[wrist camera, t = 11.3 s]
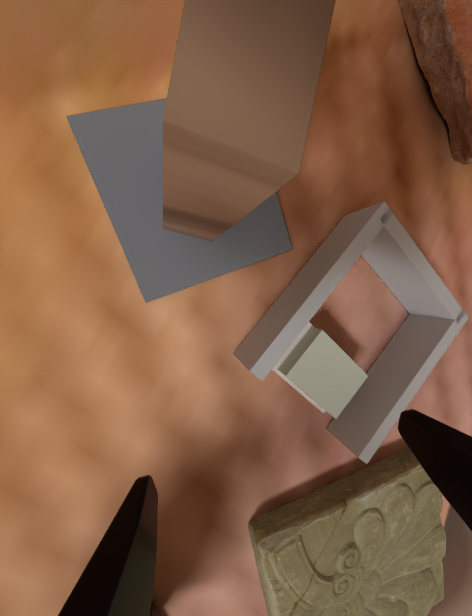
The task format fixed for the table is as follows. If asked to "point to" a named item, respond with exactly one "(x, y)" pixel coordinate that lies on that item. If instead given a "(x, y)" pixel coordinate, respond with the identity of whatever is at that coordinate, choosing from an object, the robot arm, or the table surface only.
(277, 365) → the offcut
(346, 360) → the offcut
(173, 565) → the table surface
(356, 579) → the decorative tile
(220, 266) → the mat
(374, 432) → the rack
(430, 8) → the ceramic shard
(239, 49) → the brown rectangular block
